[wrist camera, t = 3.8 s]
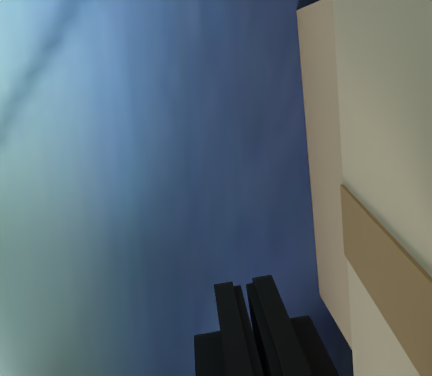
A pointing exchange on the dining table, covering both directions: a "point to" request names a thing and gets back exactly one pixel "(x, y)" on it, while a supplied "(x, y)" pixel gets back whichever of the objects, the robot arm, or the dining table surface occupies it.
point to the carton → (325, 155)
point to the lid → (387, 180)
